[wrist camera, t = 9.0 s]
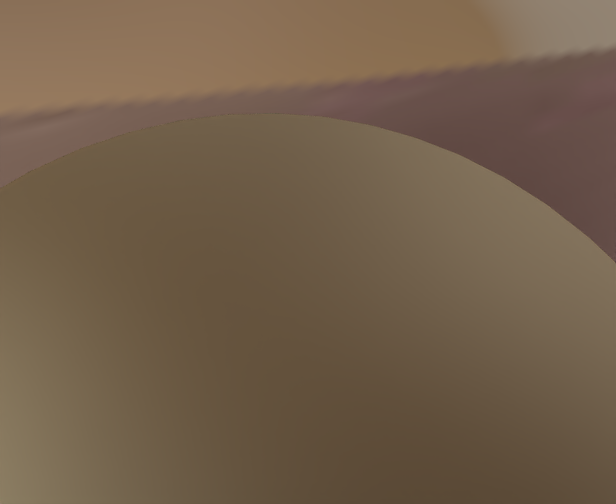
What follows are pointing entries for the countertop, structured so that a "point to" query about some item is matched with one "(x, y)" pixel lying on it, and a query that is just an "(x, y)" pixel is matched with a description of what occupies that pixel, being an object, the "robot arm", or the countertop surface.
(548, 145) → the countertop surface
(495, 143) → the countertop surface
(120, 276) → the cord reel
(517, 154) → the countertop surface
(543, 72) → the countertop surface
